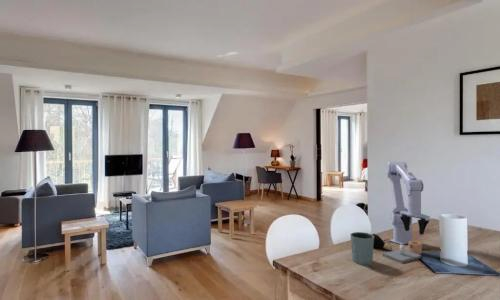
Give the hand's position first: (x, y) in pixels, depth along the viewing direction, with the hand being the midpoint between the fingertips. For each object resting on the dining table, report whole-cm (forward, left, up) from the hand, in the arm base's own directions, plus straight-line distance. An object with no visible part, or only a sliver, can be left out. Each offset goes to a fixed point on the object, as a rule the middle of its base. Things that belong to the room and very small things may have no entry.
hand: (414, 232), depth 155 cm
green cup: (+31, -4, -10) cm, 33 cm away
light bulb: (+9, -13, -11) cm, 19 cm away
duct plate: (+10, +1, -10) cm, 14 cm away
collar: (-1, 0, -10) cm, 10 cm away
